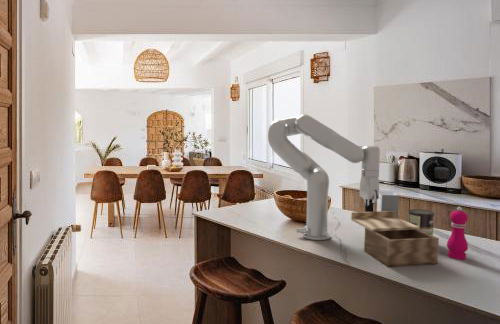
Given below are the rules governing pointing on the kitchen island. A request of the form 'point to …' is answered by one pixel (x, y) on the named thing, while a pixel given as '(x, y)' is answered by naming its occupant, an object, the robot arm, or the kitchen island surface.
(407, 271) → the kitchen island surface
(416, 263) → the walnut box
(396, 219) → the box lid
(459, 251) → the pepper mill
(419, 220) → the coffee can
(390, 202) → the hard drive box
